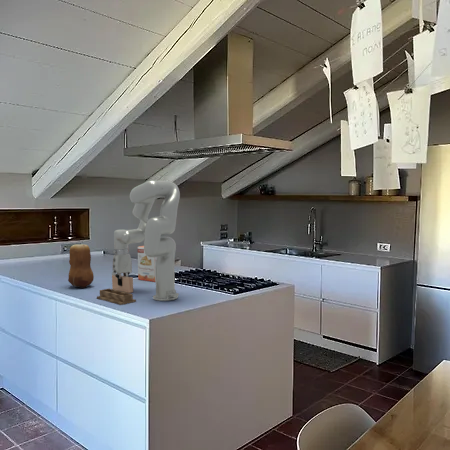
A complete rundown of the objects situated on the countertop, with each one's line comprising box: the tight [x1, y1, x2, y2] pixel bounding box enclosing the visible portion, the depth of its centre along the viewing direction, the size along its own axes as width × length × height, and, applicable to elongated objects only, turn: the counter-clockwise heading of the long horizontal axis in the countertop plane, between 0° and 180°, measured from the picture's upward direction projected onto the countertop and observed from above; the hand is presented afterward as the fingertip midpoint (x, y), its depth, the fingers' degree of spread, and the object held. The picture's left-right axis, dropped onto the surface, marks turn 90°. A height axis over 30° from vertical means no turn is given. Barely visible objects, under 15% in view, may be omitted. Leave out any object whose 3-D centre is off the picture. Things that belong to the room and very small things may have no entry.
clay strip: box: [111, 274, 134, 294], centre depth 255 cm, size 16×2×8 cm, turn 47°
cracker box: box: [137, 245, 157, 283], centre depth 284 cm, size 14×6×21 cm, turn 56°
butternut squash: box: [67, 243, 95, 289], centre depth 264 cm, size 14×13×25 cm
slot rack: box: [96, 288, 137, 306], centre depth 233 cm, size 21×9×4 cm, turn 48°
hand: (122, 284), depth 255 cm, fingers closed on clay strip, 2 cm apart
